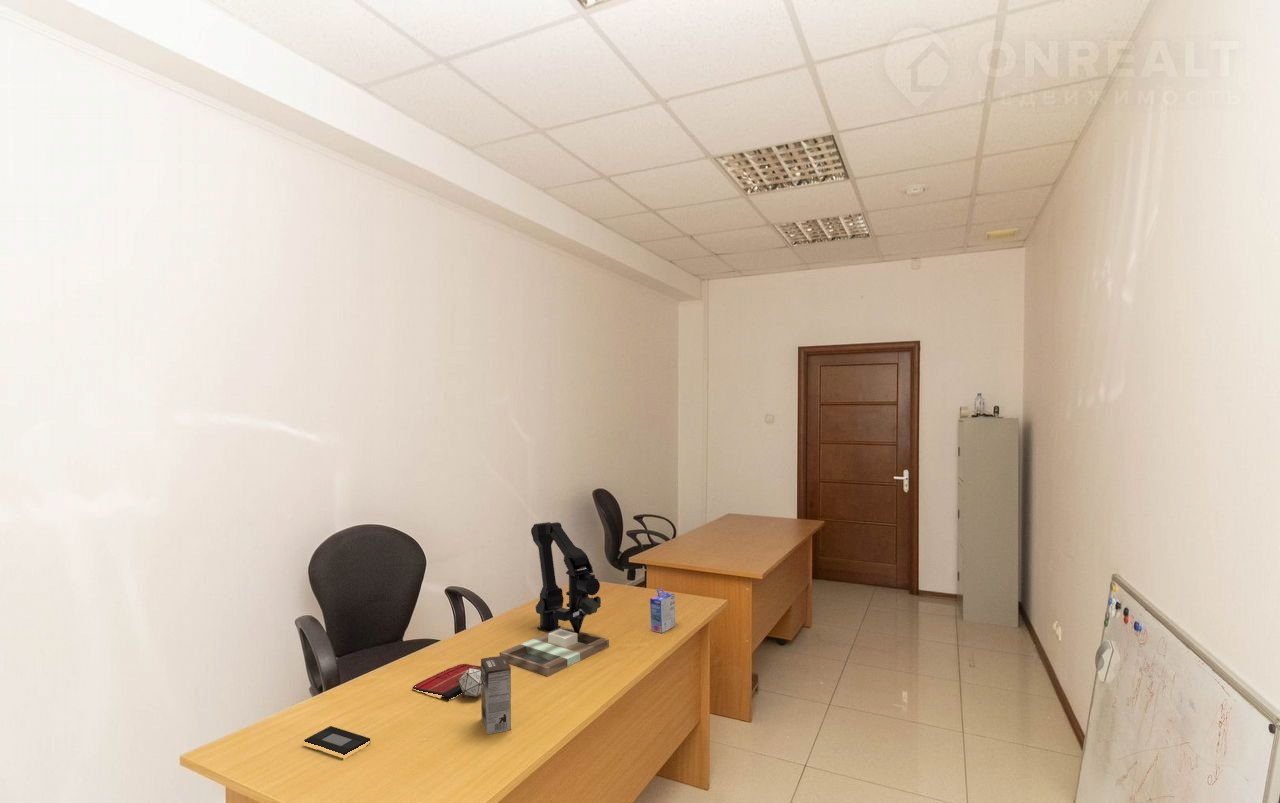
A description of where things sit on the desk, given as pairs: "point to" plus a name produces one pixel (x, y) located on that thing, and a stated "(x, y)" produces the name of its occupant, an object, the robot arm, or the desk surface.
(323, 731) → the black computer chip
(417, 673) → the desk surface
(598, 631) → the desk surface
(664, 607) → the ink cartridge box
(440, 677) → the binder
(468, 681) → the game die
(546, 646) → the trap deck
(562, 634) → the cream block
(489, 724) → the coffee box
